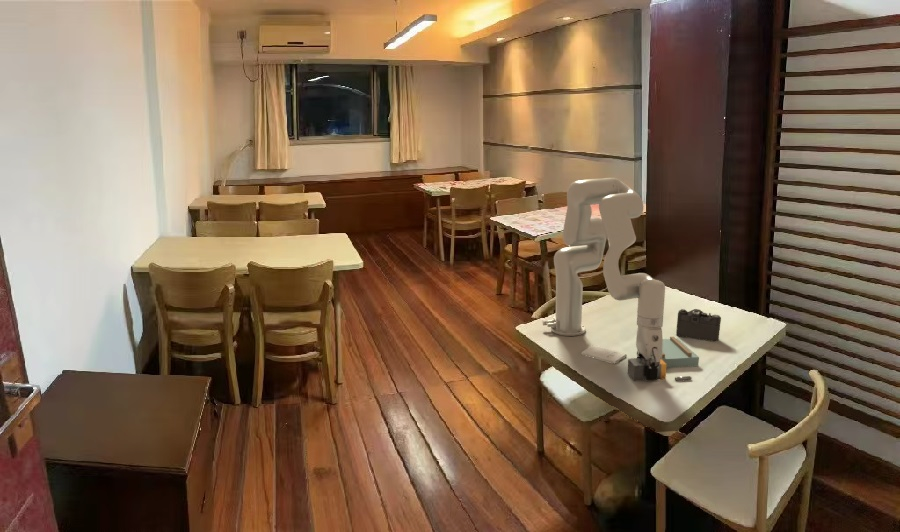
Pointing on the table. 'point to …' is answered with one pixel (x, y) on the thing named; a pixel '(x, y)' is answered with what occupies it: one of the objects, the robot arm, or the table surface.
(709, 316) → the camera
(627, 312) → the table surface
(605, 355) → the external hard drive
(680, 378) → the grey metal rounded bar
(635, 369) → the block
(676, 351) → the stand
